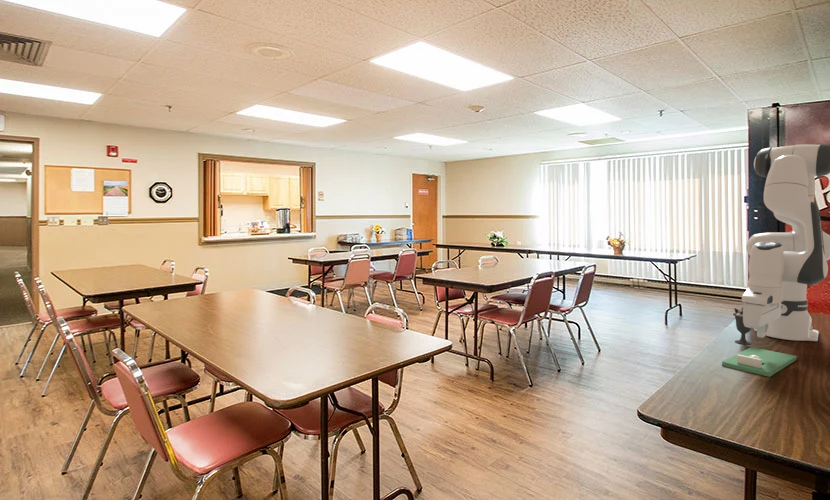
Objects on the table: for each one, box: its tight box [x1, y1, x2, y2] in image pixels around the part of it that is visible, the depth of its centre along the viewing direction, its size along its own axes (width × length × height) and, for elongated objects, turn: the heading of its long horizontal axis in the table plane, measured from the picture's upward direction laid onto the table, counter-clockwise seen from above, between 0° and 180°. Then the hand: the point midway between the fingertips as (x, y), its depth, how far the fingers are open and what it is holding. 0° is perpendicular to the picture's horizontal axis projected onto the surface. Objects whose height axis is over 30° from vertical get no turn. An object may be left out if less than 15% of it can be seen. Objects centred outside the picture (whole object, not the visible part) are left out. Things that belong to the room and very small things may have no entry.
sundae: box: [732, 307, 752, 346], centre depth 159 cm, size 7×7×15 cm
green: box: [721, 346, 797, 378], centre depth 139 cm, size 24×12×4 cm, turn 125°
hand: (761, 336), depth 141 cm, fingers closed
